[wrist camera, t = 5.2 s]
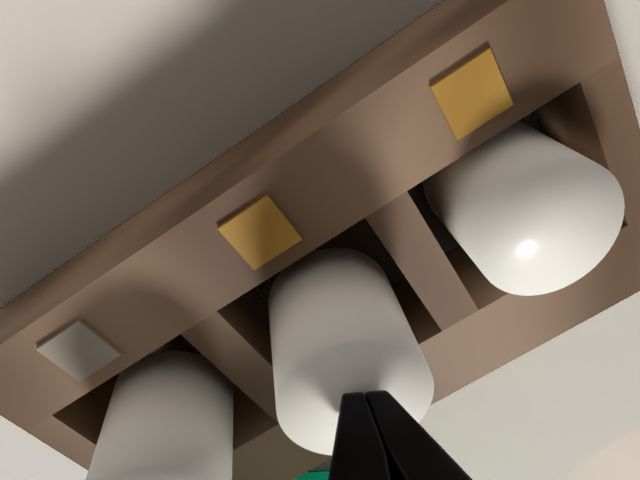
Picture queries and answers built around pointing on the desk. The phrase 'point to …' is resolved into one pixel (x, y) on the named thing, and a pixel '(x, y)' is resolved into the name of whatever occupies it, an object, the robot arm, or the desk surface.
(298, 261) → the button middle
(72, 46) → the desk surface
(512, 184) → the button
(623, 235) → the button board
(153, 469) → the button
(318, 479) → the candle
